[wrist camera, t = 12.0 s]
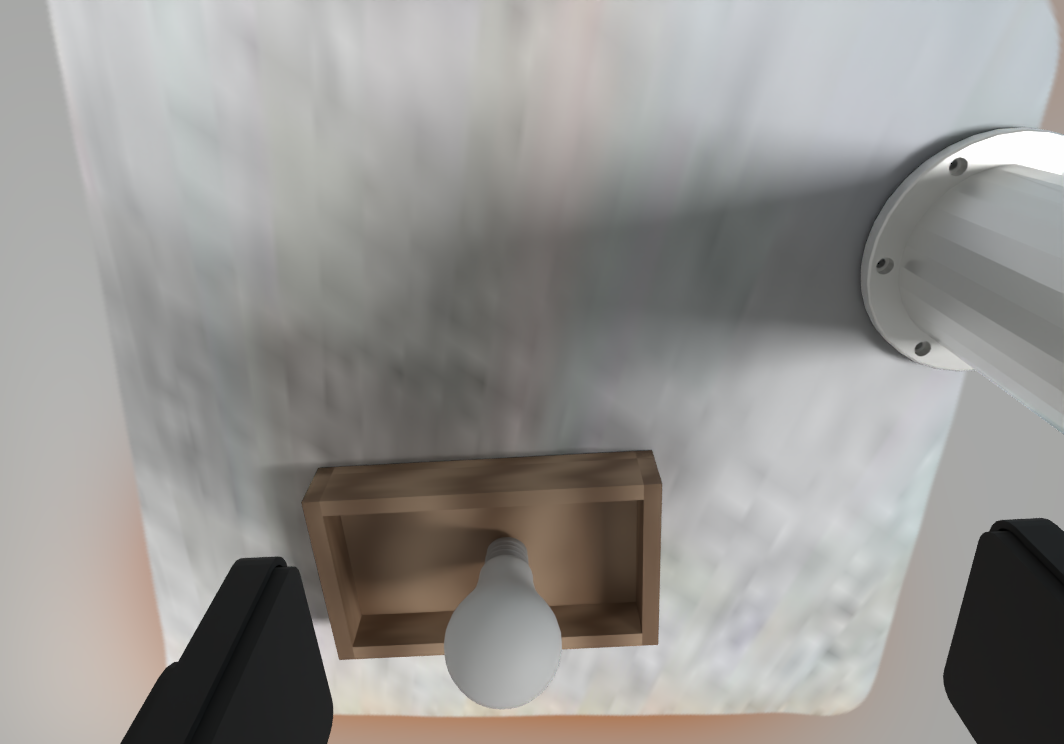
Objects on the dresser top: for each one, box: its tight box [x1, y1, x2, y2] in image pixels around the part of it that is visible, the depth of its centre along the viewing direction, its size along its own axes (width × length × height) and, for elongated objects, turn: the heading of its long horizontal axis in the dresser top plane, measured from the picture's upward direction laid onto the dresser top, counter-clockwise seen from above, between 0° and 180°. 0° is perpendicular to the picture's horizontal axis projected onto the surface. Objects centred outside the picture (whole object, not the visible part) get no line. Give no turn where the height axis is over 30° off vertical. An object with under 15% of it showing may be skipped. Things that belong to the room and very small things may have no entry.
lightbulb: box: [444, 537, 562, 709], centre depth 39 cm, size 6×6×11 cm
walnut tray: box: [301, 450, 662, 660], centre depth 43 cm, size 20×12×4 cm, turn 93°
